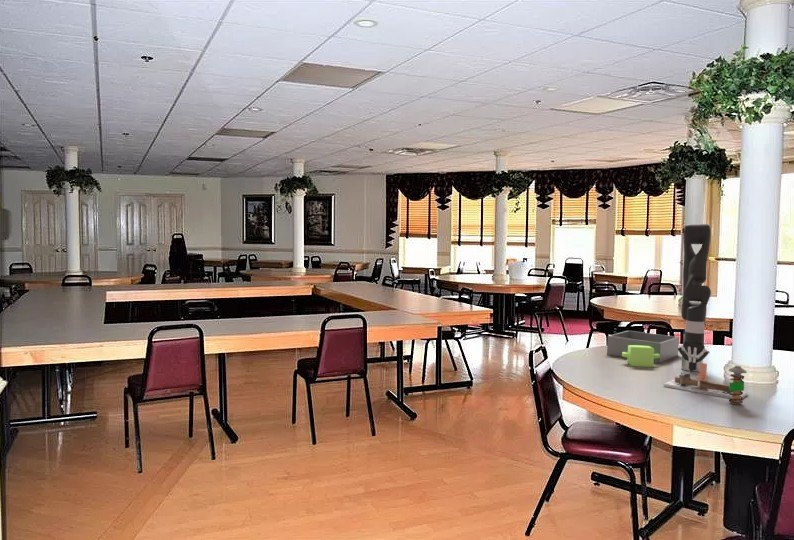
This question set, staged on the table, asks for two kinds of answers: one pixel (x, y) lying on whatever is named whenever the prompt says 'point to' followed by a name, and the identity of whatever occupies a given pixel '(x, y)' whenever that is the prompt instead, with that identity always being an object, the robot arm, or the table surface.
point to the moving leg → (702, 373)
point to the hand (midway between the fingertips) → (692, 370)
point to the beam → (685, 378)
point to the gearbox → (640, 355)
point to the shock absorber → (736, 384)
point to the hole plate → (701, 389)
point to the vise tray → (643, 344)
